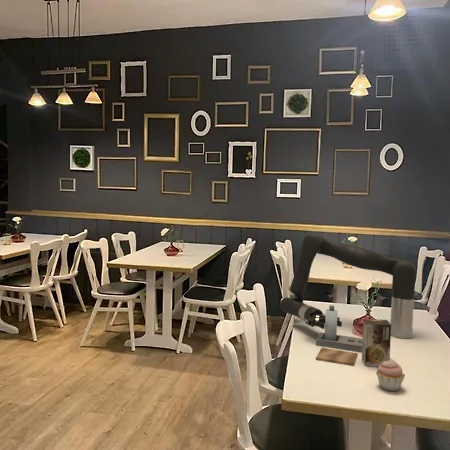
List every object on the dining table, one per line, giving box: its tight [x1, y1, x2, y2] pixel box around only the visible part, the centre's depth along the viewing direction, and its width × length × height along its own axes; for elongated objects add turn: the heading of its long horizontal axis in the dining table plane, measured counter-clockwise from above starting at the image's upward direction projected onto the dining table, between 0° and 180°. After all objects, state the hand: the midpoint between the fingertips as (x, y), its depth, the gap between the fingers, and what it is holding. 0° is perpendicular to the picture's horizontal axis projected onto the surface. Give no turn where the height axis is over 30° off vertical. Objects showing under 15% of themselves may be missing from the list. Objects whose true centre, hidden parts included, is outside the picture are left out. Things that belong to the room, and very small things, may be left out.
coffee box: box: [361, 318, 392, 367], centre depth 177 cm, size 9×6×16 cm
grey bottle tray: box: [315, 332, 363, 353], centre depth 197 cm, size 21×10×3 cm, turn 68°
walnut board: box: [315, 347, 359, 367], centre depth 183 cm, size 14×12×1 cm
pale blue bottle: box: [324, 304, 339, 341], centre depth 198 cm, size 5×5×16 cm
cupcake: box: [375, 357, 406, 392], centre depth 157 cm, size 9×9×10 cm
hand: (332, 325), depth 197 cm, fingers open, 8 cm apart
